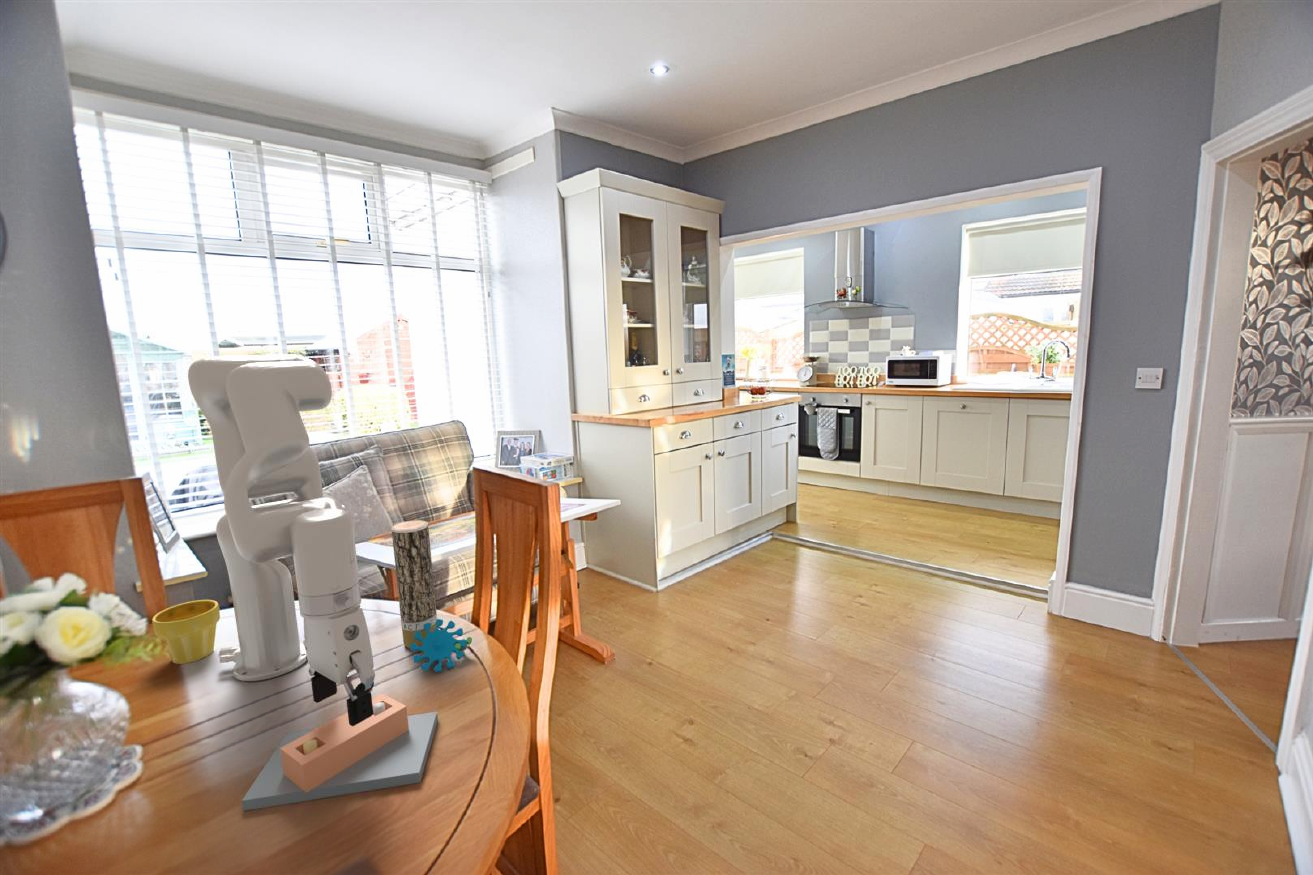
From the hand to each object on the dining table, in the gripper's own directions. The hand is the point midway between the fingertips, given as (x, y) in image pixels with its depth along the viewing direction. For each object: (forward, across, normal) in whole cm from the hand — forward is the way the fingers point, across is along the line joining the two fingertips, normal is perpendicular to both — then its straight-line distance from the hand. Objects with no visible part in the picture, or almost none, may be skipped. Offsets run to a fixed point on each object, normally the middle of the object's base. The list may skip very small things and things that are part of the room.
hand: (343, 708), depth 84 cm
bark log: (+9, +22, -27) cm, 36 cm away
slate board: (+8, -1, 0) cm, 8 cm away
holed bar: (+7, -1, 0) cm, 7 cm away
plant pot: (+10, +58, 0) cm, 59 cm away
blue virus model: (+9, +11, -24) cm, 28 cm away
